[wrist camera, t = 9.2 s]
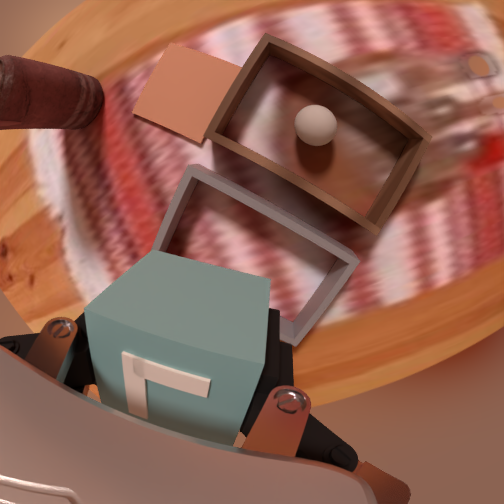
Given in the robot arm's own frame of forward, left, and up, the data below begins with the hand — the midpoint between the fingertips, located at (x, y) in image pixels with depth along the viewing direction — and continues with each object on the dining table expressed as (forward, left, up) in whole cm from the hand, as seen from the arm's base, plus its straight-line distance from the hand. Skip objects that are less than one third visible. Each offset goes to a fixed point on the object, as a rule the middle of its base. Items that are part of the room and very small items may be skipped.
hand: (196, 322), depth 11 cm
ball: (-1, -11, -15) cm, 19 cm away
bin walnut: (-2, -11, -15) cm, 19 cm away
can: (+22, -4, -16) cm, 27 cm away
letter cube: (0, 0, -1) cm, 1 cm away
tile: (+11, -9, -15) cm, 21 cm away
